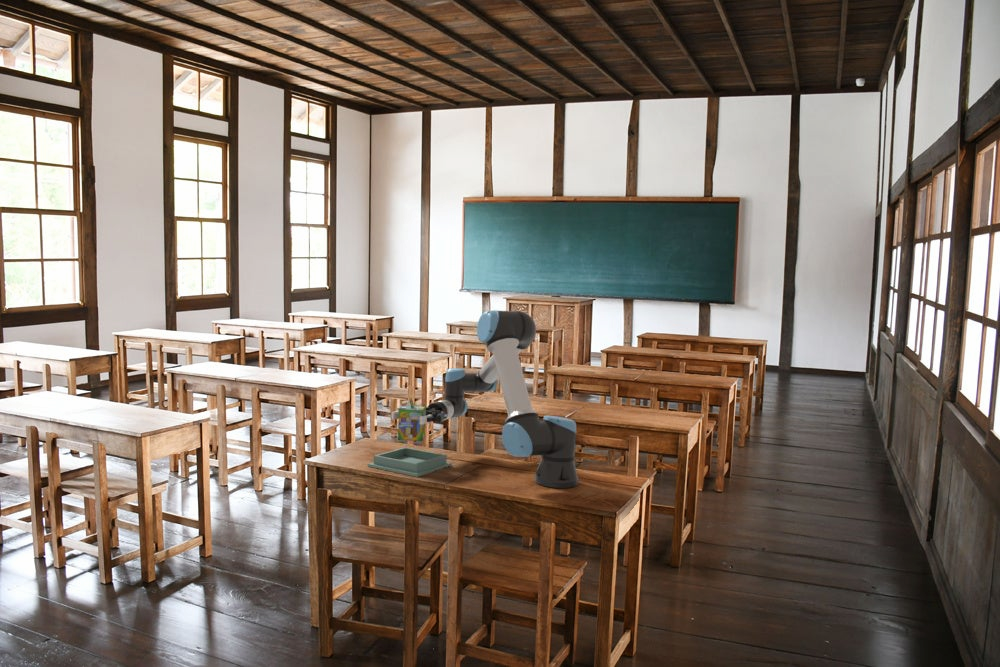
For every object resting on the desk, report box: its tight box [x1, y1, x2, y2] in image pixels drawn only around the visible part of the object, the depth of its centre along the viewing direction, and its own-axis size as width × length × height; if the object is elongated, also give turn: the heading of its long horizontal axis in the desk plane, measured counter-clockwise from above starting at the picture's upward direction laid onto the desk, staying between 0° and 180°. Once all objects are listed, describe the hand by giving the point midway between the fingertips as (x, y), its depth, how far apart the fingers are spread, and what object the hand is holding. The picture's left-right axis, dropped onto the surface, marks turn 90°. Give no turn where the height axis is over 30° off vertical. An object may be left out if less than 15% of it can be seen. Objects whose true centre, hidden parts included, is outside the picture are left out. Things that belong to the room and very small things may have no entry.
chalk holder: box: [367, 446, 453, 478], centre depth 275 cm, size 22×22×4 cm
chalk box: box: [397, 397, 426, 442], centre depth 274 cm, size 9×9×15 cm
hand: (406, 418), depth 271 cm, fingers closed on chalk box, 12 cm apart
